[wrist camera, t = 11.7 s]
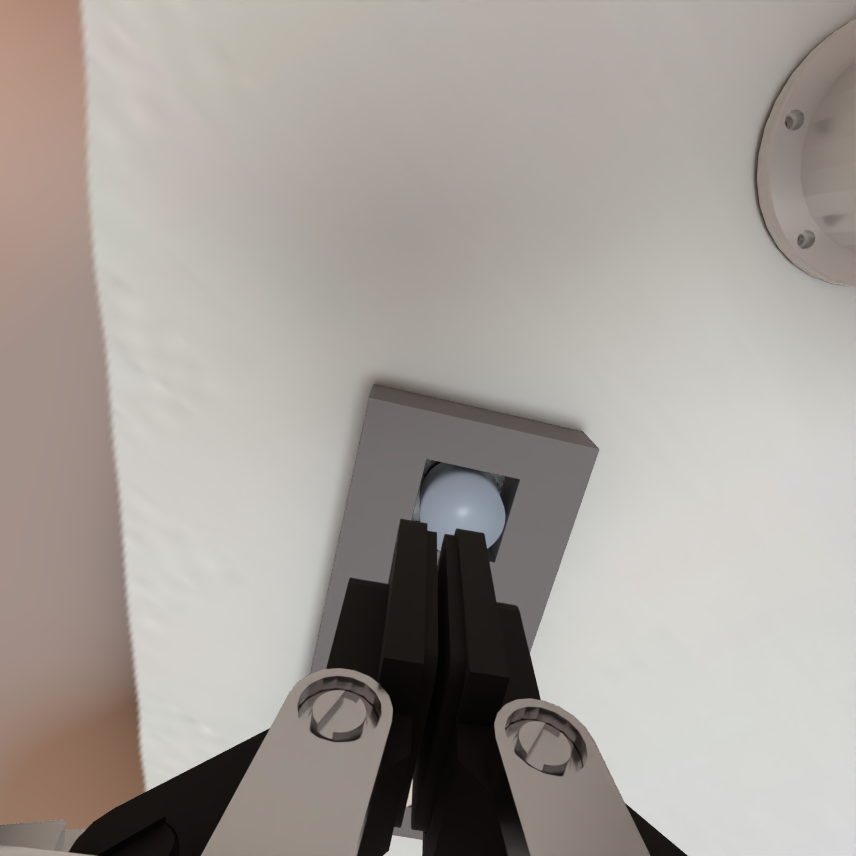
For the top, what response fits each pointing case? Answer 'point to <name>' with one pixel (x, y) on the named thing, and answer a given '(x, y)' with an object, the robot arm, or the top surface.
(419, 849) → the top surface
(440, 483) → the slate blue button
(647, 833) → the robot arm
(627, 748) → the top surface
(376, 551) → the button panel
